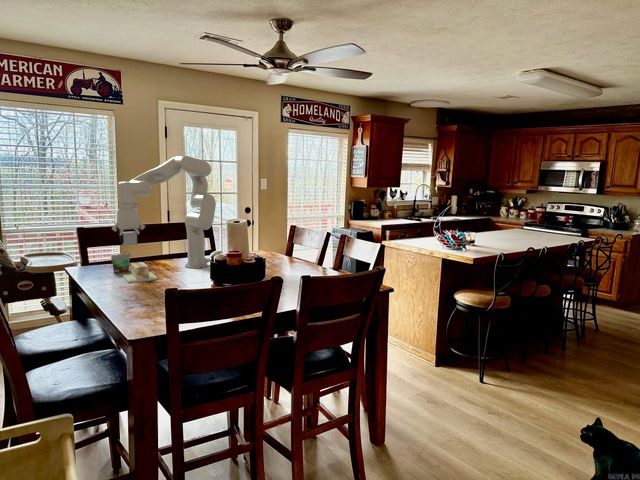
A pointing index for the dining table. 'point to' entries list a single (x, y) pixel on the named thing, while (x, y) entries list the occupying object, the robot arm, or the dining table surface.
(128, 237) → the grey cube
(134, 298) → the dining table surface
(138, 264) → the beech block
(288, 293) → the dining table surface
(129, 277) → the baseplate
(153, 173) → the robot arm
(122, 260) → the food container
